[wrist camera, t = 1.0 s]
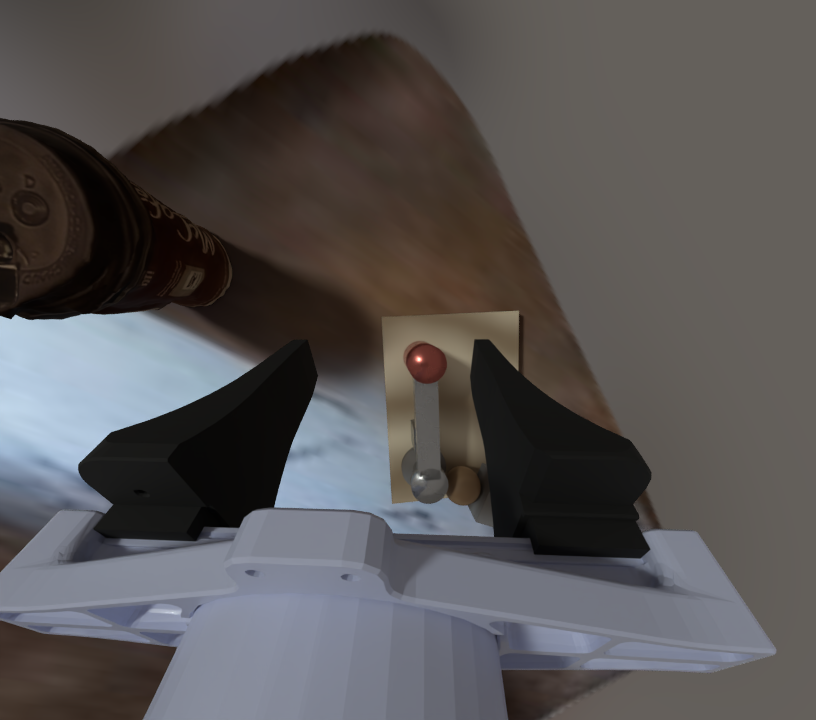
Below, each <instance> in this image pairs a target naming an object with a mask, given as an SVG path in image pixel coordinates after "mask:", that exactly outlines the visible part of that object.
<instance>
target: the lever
mask: <svg viewBox="0 0 816 720" xmlns="http://www.w3.org/2000/svg"><path fill="white" fill-rule="evenodd" d="M403 360H404V364H405V366H406V367H407V369H408V371H409V372H410V374H411V375H412V377H413V396H414V419H413V420H411V441H412V445H413V448H414V452H416V465H417V467H416V468H415V469H414V470H413V472H412V474H411V477H410V485H411V490H412V493H413V495H414V497H415V498H416V499H417V500H418V501H420V502H422V503H426V504H431V503H435V502H438V501H439V500H441V499H442V498H443V497H444V496H445V495H446V493H447V490H448V479H447V477H446V475H445V472H444V471H443V469H442V468H441V464H440V431H439V399H438V380H440V379H441V378H442V377H443V375H444V374H445V372H446V369H447V360H446V357H445V355H444V353H443V352H442V351H441V350H440V349H439V348H437V347H435V346H433V345H431V344H429V343H427V342H425V341H415V342H413V343H411V344H409V345H408V346H407V348H406V349H405V351H404V355H403Z"/></svg>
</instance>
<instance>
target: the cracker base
mask: <svg viewBox="0 0 816 720" xmlns="http://www.w3.org/2000/svg"><path fill="white" fill-rule="evenodd" d="M381 319H382V336H383V354H384V371H385V388H386V406H387V423H388V441H389V458H390V475H391V493H392V504H394V503H404V502H413V501H418V500H417V499H416V498H415V497H414V495H413V493H412V490H411V485H410V477H411V474H412V472H413V470H414V469H415V468H416V467H417V465H416V452H414V448H413V445H412V441H411V420H413V419H414V396H413V377H412V375H411V374H410V372H409V371H408V369H407V367H406V366H405V364H404V360H403V355H404V351H405V349H406V348H407V346H408V345H409V344H411V343H413V342H415V341H425V342H427V343H429V344H431V345H433V346H435V347H437V348H439V349H440V350H441V351H442V352H443V353H444V355H445V357H446V360H447V369H446V372H445V374H444V375H443V377H442V378H441V379H440V380H438V399H439V431H440V464H441V468H442V469H443V471H444V472H445V475H446V477H447V479H448V490H447V493H446V495H445V496H444V497H443V498H449V499H450V500H451V501H452V502H454V503H455V504H458V505H468V507H469V509H470V511H471V513H472V515H473V517H474V519H475V521H476V522H478V523H481V524H485V525H488V526H491V527H493V517H492V507H491V498H490V489H489V480H488V472H487V464H486V457H485V449H484V444H483V439H482V435H481V431H480V427H479V423H478V419H477V415H476V411H475V406H474V402H473V398H472V391H471V381H470V372H471V364H472V355H473V347H474V339H489V340H490V341H491V342H492V343H493V344H494V345H495V346H496V348H497V349H498V350H499V351H500V352H501V353H502V354H503V356H504V357H505V358H506V359H507V360H508V361H509V362H510V363H511V364H512V365H513V366H514V367H515V368H516V369H517V370H518V358H519V311H505V312H483V313H461V314H439V315H417V316H395V317H381Z"/></svg>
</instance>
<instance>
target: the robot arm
mask: <svg viewBox="0 0 816 720" xmlns="http://www.w3.org/2000/svg"><path fill="white" fill-rule="evenodd" d="M317 377H318V375H317V371H316V368H315V364H314V361H313V357H312V354H311V350H310V347H309V343H308V340H293V341H291V342H290V343H288V344H287V345H285V346H284V347H282V348H281V349H280V350H278V351H277V352H275V353H274V354H273V355H271V356H270V357H268V358H267V359H266V360H264V361H263V362H262V363H260V364H259V365H257V366H256V367H254V368H253V369H251V370H250V371H248V372H247V373H245V374H244V375H242V376H241V377H239V378H238V379H236V380H234V381H233V382H231V383H229V384H228V385H226V386H224V387H222V388H220V389H219V390H217V391H215V392H213V393H211V394H209V395H207V396H205V397H203V398H201V399H199V400H196V401H194V402H192V403H190V404H188V405H186V406H184V407H181V408H179V409H176V410H174V411H172V412H169V413H166V414H164V415H161V416H159V417H156V418H153V419H150V420H148V421H145V422H142V423H139V424H136V425H133V426H129V427H126V428H123V429H120V430H117V431H114V432H111V433H110V434H109V435H108V436H107V437H106V438H105V439H104V440H103V441H102V442H101V443H100V444H99V445H98V446H97V447H96V448H95V449H94V450H93V451H91V452H90V453H89V454H88V455H87V456H86V457H85V458H84V459H83V460H82V461H81V462H80V463H79V464H78V471H79V474H80V476H81V477H82V479H83V480H84V481H85V482H86V483H87V484H88V485H90V486H91V487H92V488H93V489H95V490H96V491H97V492H98V493H100V494H101V495H102V496H103V497H105V498H106V499H107V500H108V501H110V502H111V503H112V504H114V505H113V506H112V507H111V508H110V509H109V510H108V512H107V513H106V514H104V513H102V512H99V511H93V510H61V511H59V512H58V513H57V514H56V515H55V516H54V517H53V518H52V519H51V520H50V521H49V522H48V524H47V525H46V526H45V527H44V528H43V529H42V530H41V531H40V532H39V533H38V534H37V535H36V536H35V537H34V538H33V539H32V540H31V541H30V542H29V543H28V544H27V545H26V546H25V547H24V548H23V550H22V551H21V552H20V553H19V554H18V555H17V556H16V557H15V558H14V559H13V560H12V561H11V562H10V563H9V564H8V565H7V566H6V567H5V568H4V569H3V570H2V571H1V572H0V620H2V621H5V622H9V623H12V624H15V625H18V626H21V627H24V628H28V629H31V630H34V631H37V632H40V633H44V634H57V635H71V636H83V637H94V638H104V639H113V640H122V641H131V642H139V643H148V644H156V645H164V646H173V647H178V648H177V650H176V652H175V654H174V656H173V658H172V661H171V663H170V665H169V667H168V669H167V671H166V673H165V675H164V677H163V679H162V681H161V683H160V686H159V688H158V690H157V692H156V694H155V696H154V698H153V700H152V702H151V704H150V706H149V708H148V711H147V713H146V715H145V717H144V719H143V720H508V715H507V708H506V701H505V694H504V686H503V679H502V672H501V670H651V671H653V670H654V671H679V672H700V673H712V672H715V671H719V670H722V669H726V668H729V667H732V666H736V665H740V664H743V663H747V662H750V661H754V660H757V659H761V658H764V657H768V656H771V655H775V654H776V648H775V647H774V646H773V644H772V642H771V641H770V639H769V638H768V636H767V635H766V633H765V632H764V630H763V629H762V627H761V626H760V624H759V623H758V621H757V620H756V618H755V617H754V616H753V614H752V613H751V611H750V610H749V608H748V607H747V605H746V604H745V602H744V601H743V599H742V598H741V596H740V595H739V593H738V592H737V590H736V589H735V588H734V586H733V584H732V583H731V581H730V580H729V578H728V577H727V576H726V574H725V573H724V571H723V570H722V568H721V567H720V565H719V564H718V562H717V561H716V559H715V558H714V556H713V555H712V553H711V552H710V550H709V549H708V547H707V546H706V544H705V543H704V541H703V540H702V538H701V537H700V535H699V534H698V533H697V532H696V531H693V530H673V529H650V530H647V531H644V532H641V531H640V529H639V527H638V525H637V523H636V521H637V520H638V519H639V514H638V513H637V511H636V509H635V507H634V505H633V503H634V502H635V501H636V500H637V499H638V497H639V496H640V495H641V494H642V492H643V491H644V490H645V489H646V487H647V486H648V484H649V482H650V480H651V471H650V469H649V467H648V466H647V464H646V463H645V461H644V460H643V458H642V456H641V455H640V453H639V452H638V450H637V449H636V448H635V446H634V445H633V443H632V442H631V441H630V440H628V439H626V438H624V437H622V436H620V435H617V434H615V433H613V432H611V431H608V430H606V429H604V428H602V427H600V426H598V425H596V424H594V423H592V422H590V421H588V420H586V419H584V418H583V417H581V416H579V415H577V414H575V413H574V412H572V411H570V410H569V409H567V408H566V407H564V406H562V405H561V404H559V403H558V402H556V401H555V400H553V399H552V398H550V397H549V396H548V395H546V394H545V393H544V392H542V391H541V390H540V389H538V388H537V387H536V386H534V385H533V384H532V383H531V382H530V381H529V380H527V379H526V378H525V377H524V376H523V375H522V374H521V373H520V372H519V371H518V370H517V369H516V368H515V367H514V366H513V365H512V364H511V363H510V362H509V361H508V360H507V359H506V358H505V357H504V356H503V354H502V353H501V352H500V351H499V350H498V349H497V348H496V346H495V345H494V344H493V343H492V342H491V341H490V340H489V339H474V347H473V355H472V364H471V372H470V381H471V391H472V398H473V402H474V406H475V411H476V415H477V419H478V423H479V427H480V431H481V435H482V439H483V444H484V449H485V457H486V464H487V472H488V480H489V489H490V498H491V507H492V517H493V528H494V537H479V536H451V535H423V534H395V533H392V530H391V528H390V527H389V526H388V524H387V523H386V522H385V521H384V519H382V518H380V517H378V516H376V515H374V514H371V513H368V512H362V511H355V510H335V509H303V508H274V505H275V501H276V497H277V493H278V489H279V485H280V481H281V478H282V474H283V471H284V467H285V464H286V460H287V457H288V454H289V451H290V448H291V445H292V442H293V439H294V437H295V435H296V432H297V430H298V428H299V425H300V423H301V421H302V419H303V416H304V414H305V412H306V410H307V407H308V405H309V403H310V400H311V398H312V395H313V392H314V388H315V385H316V381H317Z"/></svg>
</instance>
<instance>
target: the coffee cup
mask: <svg viewBox="0 0 816 720" xmlns="http://www.w3.org/2000/svg"><path fill="white" fill-rule="evenodd" d="M231 279H232V267H231V264H230V261H229V257H228V255H227V253H226V251H225V249H224V247H223V245H222V244H221V242H220V241H219V240H218V239H217V238H216V237H215V236H214V235H212V234H211V233H210V232H209V231H208V230H207V229H205V228H203V227H201V226H198V225H195V224H194V223H192V222H191V221H190V220H189V219H187V218H186V217H185V216H183V215H181V214H179V213H176V212H175V211H173V210H172V209H170V208H169V207H167V206H166V205H164V204H163V203H161V202H160V201H159V200H157V199H156V198H155V197H153V196H152V195H151V194H149V193H148V192H146V191H145V190H144V189H142V188H141V187H139V186H138V185H136V184H135V183H133V182H131V181H130V180H128V179H127V178H126V176H125V175H123V174H122V173H121V172H120V171H119V170H118V169H117V167H116V166H115V165H113V164H112V163H111V162H110V161H108V160H107V159H106V158H104V157H103V156H102V155H101V154H100V153H98V152H97V151H96V150H95V149H94V148H93V147H91V146H89V145H87V144H85V143H84V142H82V141H81V140H78V139H77V138H75V137H73V136H71V135H69V134H67V133H65V132H63V131H61V130H59V129H57V128H52V127H49V126H45V125H40V124H36V123H33V122H28V121H19V120H15V121H14V120H8V119H2V118H0V316H2V317H6V318H9V319H12V318H13V316H14V315H18V316H20V317H22V318H25V319H28V320H35V319H44V320H45V319H61V320H62V319H65V318H69V317H72V316H77V315H80V314H90V313H92V314H102V315H106V314H120V313H130V312H139V311H148V310H159V309H161V308H163V307H164V306H166V305H167V304H170V303H171V302H172V303H176V304H179V305H183V306H188V307H195V306H208V305H212V304H213V303H214V302H215V301H216V300H217V299H218V298H219V297H221V296H223V295H224V294H225V291H226V289H228V288H229V287H230V282H231Z"/></svg>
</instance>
